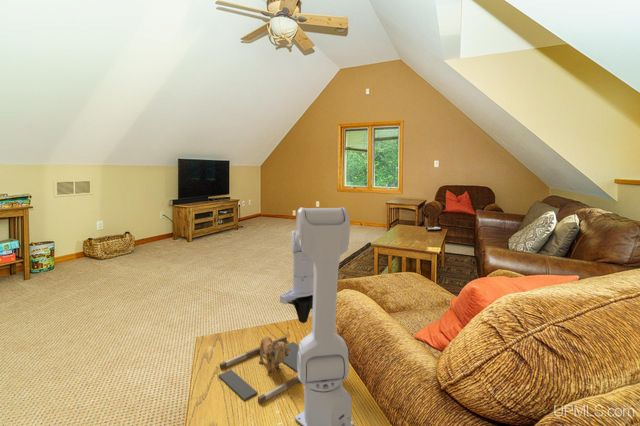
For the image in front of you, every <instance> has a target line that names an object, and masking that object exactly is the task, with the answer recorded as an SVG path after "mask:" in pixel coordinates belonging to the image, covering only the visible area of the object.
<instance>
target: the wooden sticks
mask: <svg viewBox="0 0 640 426" xmlns="http://www.w3.org/2000/svg"><path fill="white" fill-rule="evenodd" d="M287 337H288V336H287V335H286V336H285V335H284V336H282V337H280V338H277V339H275V340H272V343H276V342H284V343H285V342H287V341H288V339H287ZM259 350H260V346H258V347H256V348H253V349H251V350H248V351H245V352H244V353H241V354H238V355H237V356H234V357H232V358H230V359H227V360H225V361H223V362H220V363H219V369H220V370H222V369H225V368H227V367H229V366H232V365H234V364H236V363H239V362H241V361H243V360H246V359H248V358H250V357H252V356H255V355H256V354H259V353H258V351H259ZM299 382H300V381H299V378H298V375H296V376H294V377H292V378H290V379H288V380H286V381H285V382H283V383H281V384H279V385H278V386H275V387H273V388H272V389H270V390H268V391H266V392H264V393H263V394H261V395H259V396H258V397H257V403H258V404H262V403H263V402H267V400H269V399H271V398H273V397H275V396H276V395H279V394H280V393H283V392H284V391H285V390H287V389H289V388H290V387H293V386H294V385H296V384H298V383H299ZM300 383H301V382H300Z"/></svg>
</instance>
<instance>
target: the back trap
mask: <svg viewBox="0 0 640 426" xmlns="http://www.w3.org/2000/svg"><path fill="white" fill-rule="evenodd" d="M284 345H285V346H287V348H289V349H291V352H290V354H289V357H286V356H285V360H284V361H283V362H282V363H283V364H284V365H285V366H287V367H288V368H290V369H292V370H293V371H294V372H295V373H298V370H297V353H298V349H299V344H297V343H295V342H294V341H292V342H290V343H287V344H284Z"/></svg>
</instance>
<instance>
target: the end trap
mask: <svg viewBox="0 0 640 426" xmlns="http://www.w3.org/2000/svg"><path fill="white" fill-rule="evenodd" d="M217 376H218V378H220V379H221V380H222V381H223V383H225V384H226V385H227V386H228V387H229V388H230V389H231V390H232V391H233V392H234V393H235V394H236V395H238V396H239V397H240V399H242V400H243V401H246V400H247V401H248V399H250V398H253V397H254V396H256V395H258V391H257V390H256V389H255V388H253V386H251V385H250V384H249V383H247V381H245V380H244V379H243V378H241V377H240V376H239V375H238V374H237V373H236V372H235V371H234V370H233V369H228V370H226V371H224V372H222V373H220V374H218V375H217Z"/></svg>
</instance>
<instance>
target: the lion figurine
mask: <svg viewBox="0 0 640 426" xmlns="http://www.w3.org/2000/svg"><path fill="white" fill-rule="evenodd" d="M272 341H273V340H272V338H271V337H270V336H267V335H264V337H262V338H261V340H260V344H259V347H260V350H259V351H258V353H257V354H260V355H259V361H258V364H263V363H264V359H263V357H266V365H267V376H268V377H271V376H273V371H272V365H273V366H275V367H274V371H276V372H277V373H280V372H281V370H282V368H280V365H281V364H282V363H283V361H284V360H285V356H286V357H289V354H290V352H291V349H289V348H287V346H285V345H286V344H285V342H276V343H272Z"/></svg>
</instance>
